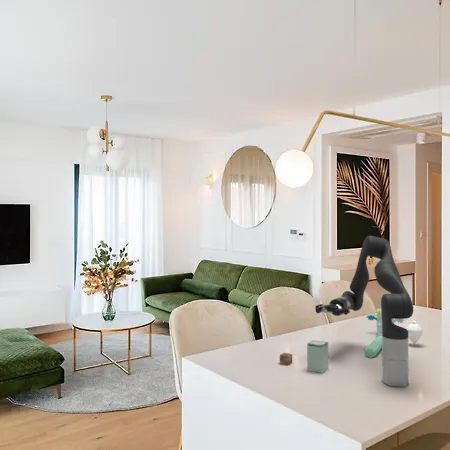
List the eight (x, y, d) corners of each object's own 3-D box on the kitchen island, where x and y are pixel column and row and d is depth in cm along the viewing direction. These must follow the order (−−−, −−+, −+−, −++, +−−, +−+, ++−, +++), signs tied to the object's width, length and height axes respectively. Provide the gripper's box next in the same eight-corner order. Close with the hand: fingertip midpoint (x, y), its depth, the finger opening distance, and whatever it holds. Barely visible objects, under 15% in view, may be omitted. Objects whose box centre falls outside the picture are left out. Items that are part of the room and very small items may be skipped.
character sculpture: (363, 335, 249) (363, 310, 249) (368, 331, 259) (368, 306, 259) (403, 339, 239) (403, 313, 239) (406, 335, 249) (406, 309, 249)
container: (372, 345, 207) (384, 332, 228) (360, 348, 210) (373, 335, 231) (378, 358, 206) (389, 344, 227) (365, 361, 209) (378, 347, 230)
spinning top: (408, 342, 233) (408, 318, 233) (425, 345, 228) (424, 320, 228) (403, 346, 227) (403, 321, 227) (420, 348, 222) (419, 323, 222)
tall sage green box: (328, 368, 193) (328, 342, 193) (322, 373, 188) (322, 345, 188) (313, 366, 197) (313, 340, 196) (307, 370, 191) (307, 343, 191)
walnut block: (292, 363, 202) (292, 354, 201) (288, 365, 198) (288, 356, 198) (283, 361, 204) (283, 352, 204) (279, 364, 200) (279, 354, 200)
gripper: (324, 296, 218) (310, 301, 204) (355, 299, 210) (342, 304, 196) (325, 312, 218) (311, 318, 204) (355, 315, 210) (342, 322, 196)
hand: (326, 311), depth 200 cm, fingers open, 8 cm apart
